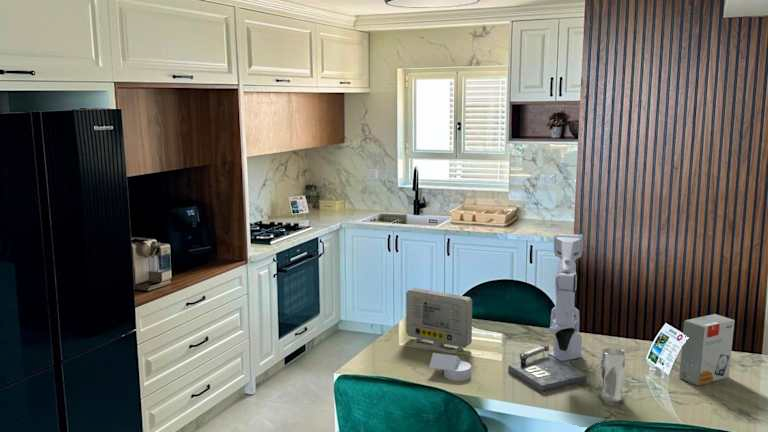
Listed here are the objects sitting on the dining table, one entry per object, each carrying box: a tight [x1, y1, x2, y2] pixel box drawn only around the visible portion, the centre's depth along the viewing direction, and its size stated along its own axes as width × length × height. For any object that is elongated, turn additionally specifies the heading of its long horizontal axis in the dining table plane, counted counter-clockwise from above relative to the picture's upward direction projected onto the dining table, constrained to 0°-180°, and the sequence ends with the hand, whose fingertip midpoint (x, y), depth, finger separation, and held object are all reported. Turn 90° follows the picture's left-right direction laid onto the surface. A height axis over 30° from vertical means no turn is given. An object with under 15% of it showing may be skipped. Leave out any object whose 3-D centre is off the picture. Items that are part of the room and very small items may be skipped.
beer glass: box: [600, 347, 626, 403], centre depth 205 cm, size 7×7×15 cm
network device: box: [405, 287, 473, 354], centre depth 249 cm, size 26×9×20 cm, turn 58°
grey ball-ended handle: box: [519, 343, 550, 361], centre depth 229 cm, size 14×2×2 cm, turn 130°
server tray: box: [507, 355, 588, 394], centre depth 221 cm, size 18×18×4 cm
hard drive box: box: [678, 313, 735, 386], centre depth 218 cm, size 16×8×20 cm, turn 117°
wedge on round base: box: [429, 352, 472, 382], centre depth 224 cm, size 9×7×13 cm
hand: (563, 349), depth 217 cm, fingers closed
